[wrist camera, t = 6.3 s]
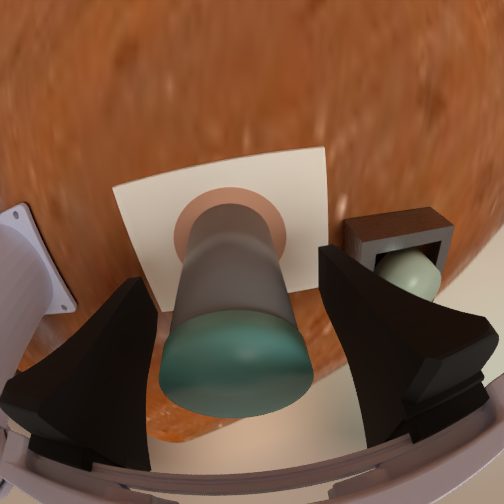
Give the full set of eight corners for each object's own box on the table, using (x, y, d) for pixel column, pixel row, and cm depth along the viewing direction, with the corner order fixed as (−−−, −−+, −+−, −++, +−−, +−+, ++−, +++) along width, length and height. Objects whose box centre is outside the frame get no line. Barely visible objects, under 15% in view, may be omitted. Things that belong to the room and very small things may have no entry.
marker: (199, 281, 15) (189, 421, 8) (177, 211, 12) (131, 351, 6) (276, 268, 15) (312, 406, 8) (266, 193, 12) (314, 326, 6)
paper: (163, 308, 16) (162, 312, 16) (114, 185, 12) (111, 188, 11) (326, 282, 16) (328, 286, 16) (322, 145, 12) (325, 147, 11)
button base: (339, 303, 17) (352, 329, 15) (344, 219, 14) (362, 242, 12) (415, 284, 17) (431, 306, 15) (430, 207, 14) (454, 225, 12)
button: (367, 302, 15) (381, 326, 13) (375, 251, 13) (393, 274, 11) (416, 289, 15) (431, 309, 13) (427, 240, 13) (447, 259, 11)
